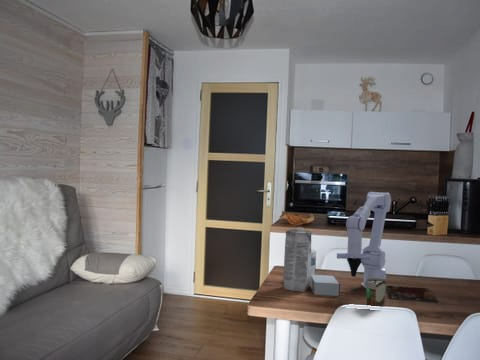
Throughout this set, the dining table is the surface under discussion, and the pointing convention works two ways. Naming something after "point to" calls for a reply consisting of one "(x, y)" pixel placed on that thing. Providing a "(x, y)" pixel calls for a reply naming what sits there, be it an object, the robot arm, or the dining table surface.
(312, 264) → the syrup box
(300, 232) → the juice carton
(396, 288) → the dining table surface
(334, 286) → the block
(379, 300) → the food container
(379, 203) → the robot arm
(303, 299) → the dining table surface
